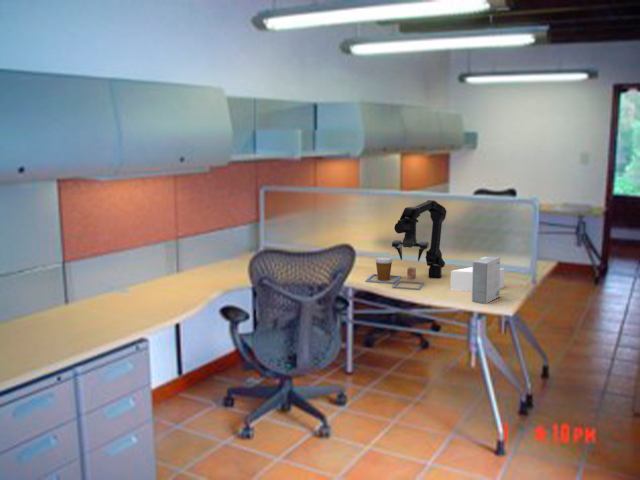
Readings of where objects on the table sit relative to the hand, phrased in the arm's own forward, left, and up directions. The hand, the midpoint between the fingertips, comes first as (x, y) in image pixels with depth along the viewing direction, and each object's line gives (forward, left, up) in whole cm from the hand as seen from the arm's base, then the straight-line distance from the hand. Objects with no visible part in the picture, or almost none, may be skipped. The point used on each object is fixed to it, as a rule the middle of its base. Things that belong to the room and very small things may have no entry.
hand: (409, 260), depth 336 cm
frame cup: (+16, -7, -13) cm, 22 cm away
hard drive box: (-41, +18, -13) cm, 47 cm away
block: (+2, -14, -13) cm, 19 cm away
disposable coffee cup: (+16, -7, -13) cm, 22 cm away
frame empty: (0, +3, -13) cm, 14 cm away
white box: (-35, -2, -14) cm, 38 cm away
